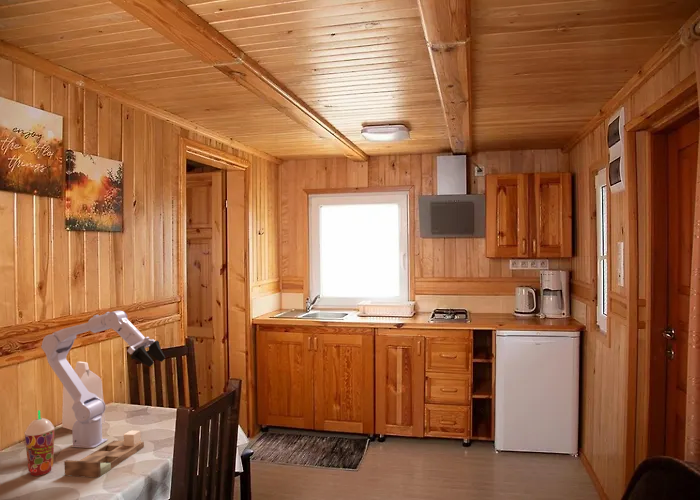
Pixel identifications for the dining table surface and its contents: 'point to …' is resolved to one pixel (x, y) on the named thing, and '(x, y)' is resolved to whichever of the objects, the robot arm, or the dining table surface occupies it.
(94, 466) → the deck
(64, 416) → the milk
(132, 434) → the block
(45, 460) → the smoothie
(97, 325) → the robot arm
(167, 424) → the dining table surface
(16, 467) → the dining table surface
